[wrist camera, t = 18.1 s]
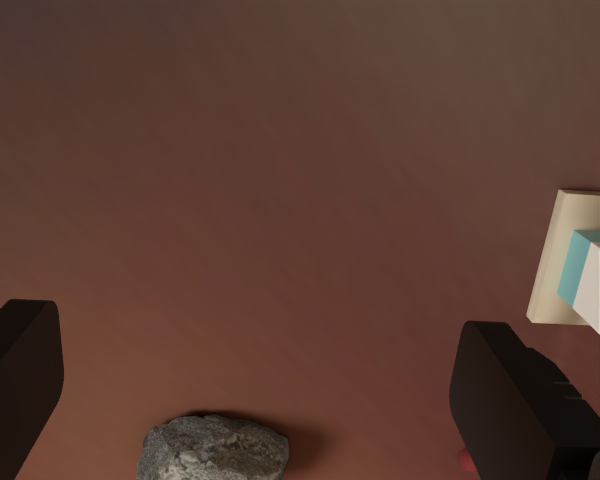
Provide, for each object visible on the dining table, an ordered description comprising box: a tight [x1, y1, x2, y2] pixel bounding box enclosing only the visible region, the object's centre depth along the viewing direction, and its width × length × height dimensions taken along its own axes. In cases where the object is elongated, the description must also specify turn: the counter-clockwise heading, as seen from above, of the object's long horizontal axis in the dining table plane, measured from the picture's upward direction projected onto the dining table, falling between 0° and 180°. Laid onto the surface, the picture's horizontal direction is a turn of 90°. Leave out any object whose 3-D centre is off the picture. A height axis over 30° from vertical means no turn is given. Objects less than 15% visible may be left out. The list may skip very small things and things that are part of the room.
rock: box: [136, 414, 290, 480], centre depth 47 cm, size 13×9×6 cm, turn 100°
